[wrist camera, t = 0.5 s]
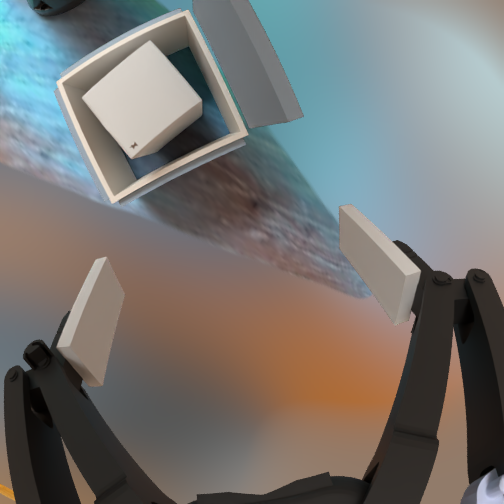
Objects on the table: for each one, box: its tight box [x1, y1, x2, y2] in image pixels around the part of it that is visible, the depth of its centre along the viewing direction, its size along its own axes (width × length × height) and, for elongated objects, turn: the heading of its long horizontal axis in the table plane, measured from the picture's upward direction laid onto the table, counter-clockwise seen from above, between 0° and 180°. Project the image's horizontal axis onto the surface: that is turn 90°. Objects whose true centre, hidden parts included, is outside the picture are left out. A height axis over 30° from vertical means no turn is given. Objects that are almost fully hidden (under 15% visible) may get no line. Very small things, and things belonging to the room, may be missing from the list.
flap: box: [193, 0, 304, 128], centre depth 19 cm, size 1×15×14 cm, turn 23°
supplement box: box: [82, 40, 202, 159], centre depth 29 cm, size 9×9×15 cm
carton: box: [54, 8, 248, 207], centre depth 31 cm, size 17×18×12 cm
